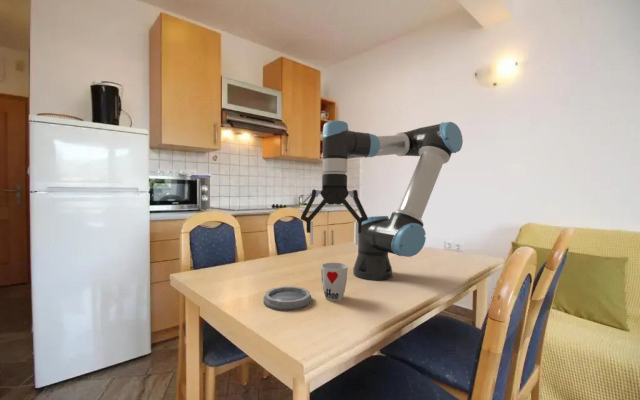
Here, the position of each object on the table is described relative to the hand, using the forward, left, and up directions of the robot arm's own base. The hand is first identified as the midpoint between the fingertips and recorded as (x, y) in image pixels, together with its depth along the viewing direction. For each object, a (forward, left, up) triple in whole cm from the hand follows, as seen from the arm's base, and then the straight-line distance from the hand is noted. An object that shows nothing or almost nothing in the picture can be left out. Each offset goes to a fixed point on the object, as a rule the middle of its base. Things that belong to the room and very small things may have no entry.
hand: (333, 243), depth 89 cm
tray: (+14, +2, -17) cm, 22 cm away
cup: (0, 0, -17) cm, 17 cm away
